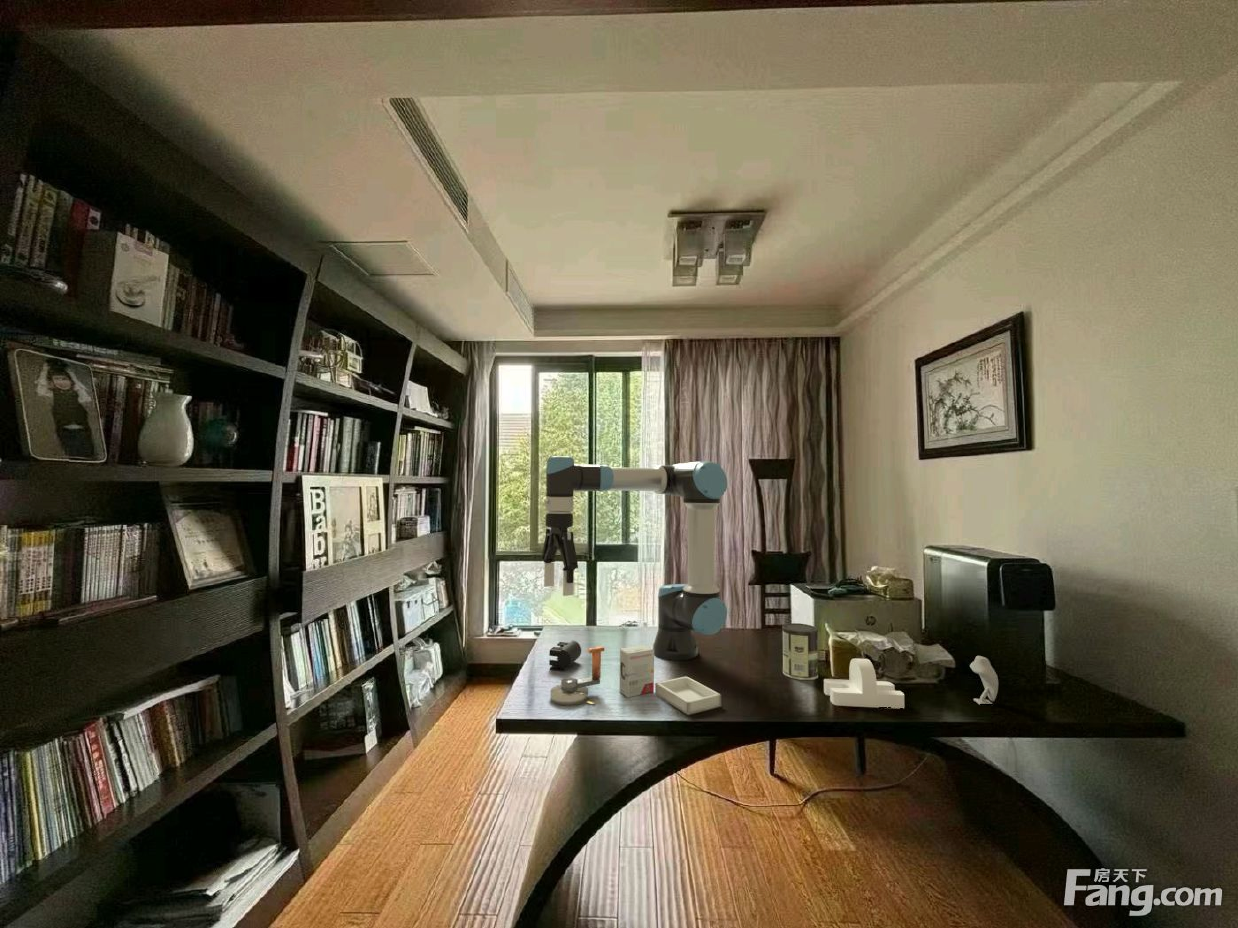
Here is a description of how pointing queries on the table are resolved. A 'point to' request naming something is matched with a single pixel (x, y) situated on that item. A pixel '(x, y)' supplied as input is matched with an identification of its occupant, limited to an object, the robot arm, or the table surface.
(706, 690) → the tray
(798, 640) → the coffee can
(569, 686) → the crank
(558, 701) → the crank housing
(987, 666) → the figurine
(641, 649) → the ink box
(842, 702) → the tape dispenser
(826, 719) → the table surface
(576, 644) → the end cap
